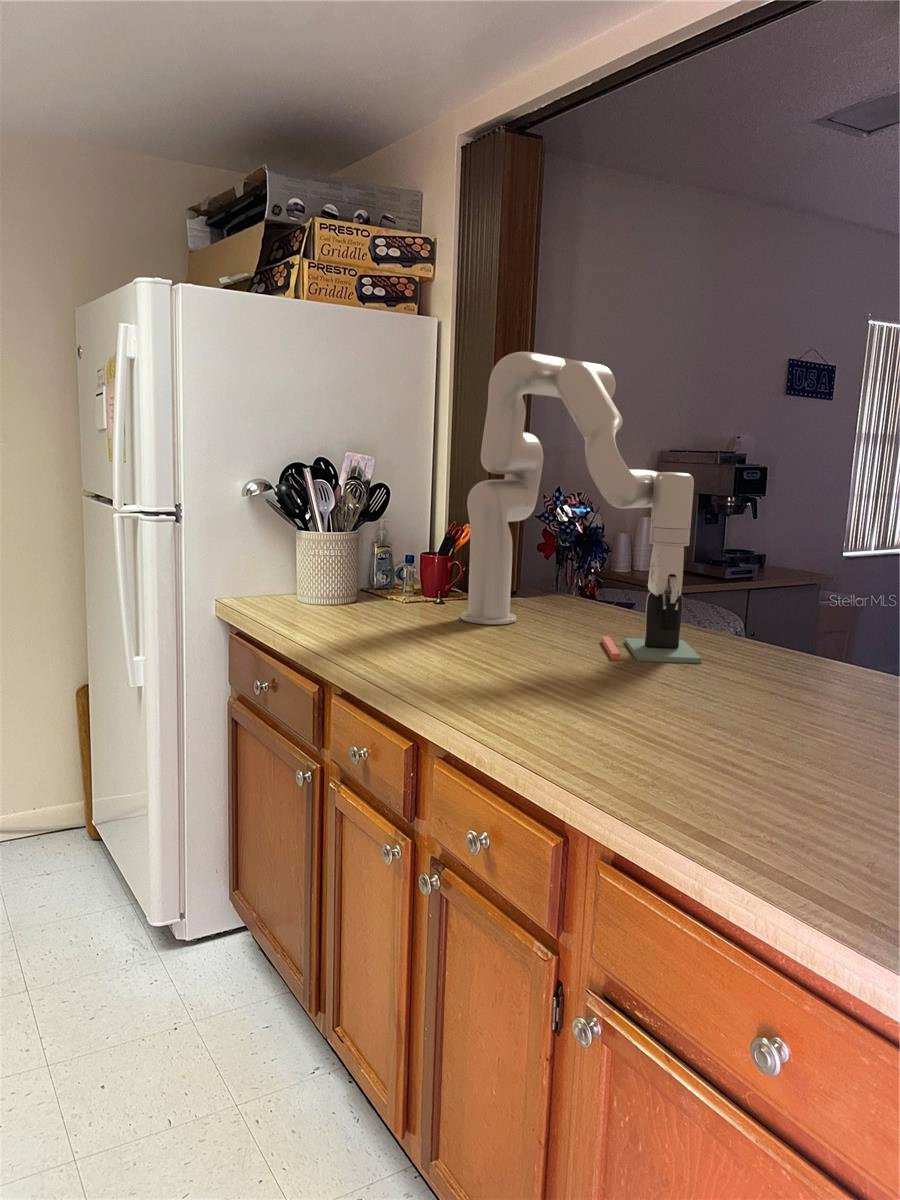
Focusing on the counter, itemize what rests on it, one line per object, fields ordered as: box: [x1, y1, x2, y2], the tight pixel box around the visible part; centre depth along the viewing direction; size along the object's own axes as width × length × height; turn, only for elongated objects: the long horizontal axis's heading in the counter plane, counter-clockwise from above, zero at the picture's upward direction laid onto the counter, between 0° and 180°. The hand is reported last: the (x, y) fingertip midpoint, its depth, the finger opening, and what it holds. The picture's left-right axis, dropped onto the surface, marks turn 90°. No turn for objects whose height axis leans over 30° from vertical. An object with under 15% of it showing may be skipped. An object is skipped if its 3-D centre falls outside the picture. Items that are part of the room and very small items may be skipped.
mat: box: [624, 637, 703, 664], centre depth 181 cm, size 16×12×1 cm
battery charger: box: [644, 590, 684, 648], centre depth 181 cm, size 7×4×11 cm, turn 86°
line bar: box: [601, 635, 621, 661], centre depth 181 cm, size 16×2×1 cm, turn 178°
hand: (663, 625), depth 180 cm, fingers open, 8 cm apart
